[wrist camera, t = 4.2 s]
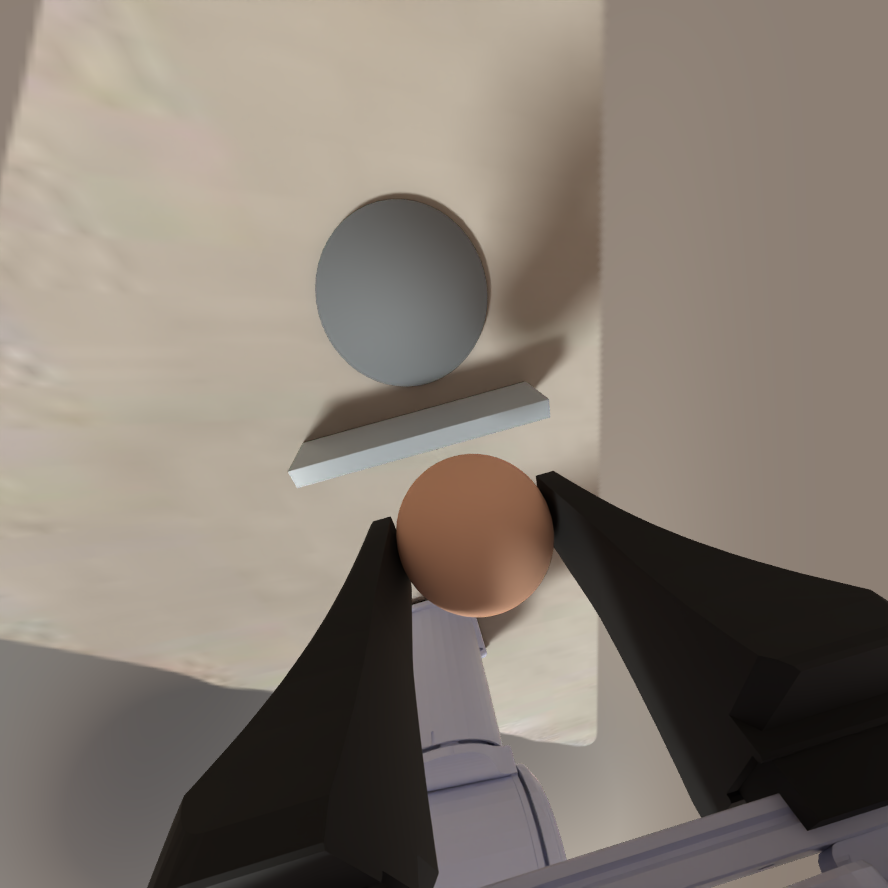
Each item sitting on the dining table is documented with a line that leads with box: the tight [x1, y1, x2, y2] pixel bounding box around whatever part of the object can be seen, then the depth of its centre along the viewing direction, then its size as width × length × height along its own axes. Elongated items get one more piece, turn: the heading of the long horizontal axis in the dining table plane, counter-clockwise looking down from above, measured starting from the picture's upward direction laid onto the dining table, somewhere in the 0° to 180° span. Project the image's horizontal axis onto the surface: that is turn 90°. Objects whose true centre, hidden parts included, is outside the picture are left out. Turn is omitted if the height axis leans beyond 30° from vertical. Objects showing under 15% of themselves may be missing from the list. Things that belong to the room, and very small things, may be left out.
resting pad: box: [315, 199, 487, 386], centre depth 15 cm, size 8×8×1 cm
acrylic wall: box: [288, 381, 550, 488], centre depth 17 cm, size 1×13×3 cm, turn 103°
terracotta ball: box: [396, 454, 554, 617], centre depth 10 cm, size 5×5×5 cm
